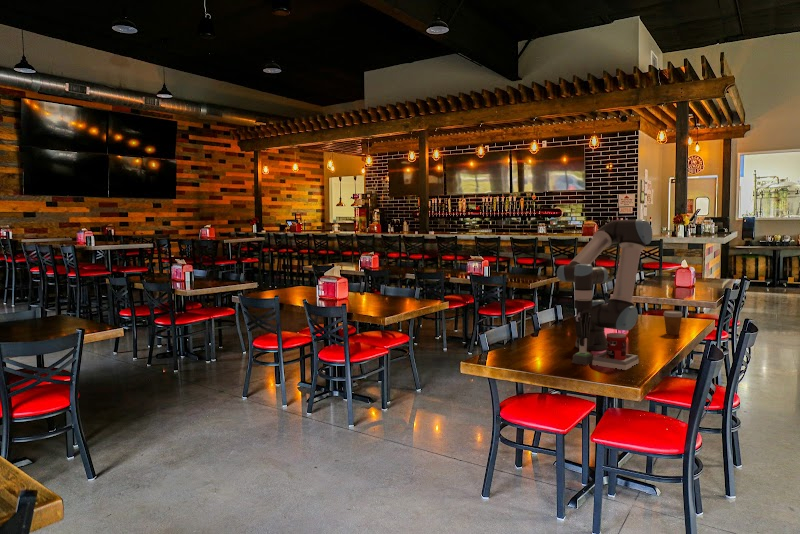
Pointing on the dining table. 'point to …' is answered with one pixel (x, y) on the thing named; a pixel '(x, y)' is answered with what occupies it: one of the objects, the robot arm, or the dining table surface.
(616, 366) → the pocket plate
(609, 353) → the canned food
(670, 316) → the disposable coffee cup
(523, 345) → the dining table surface
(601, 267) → the robot arm
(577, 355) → the button
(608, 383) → the dining table surface
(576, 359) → the button base
